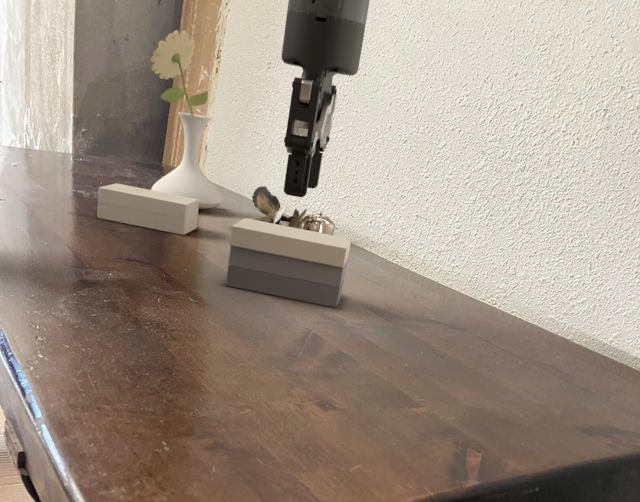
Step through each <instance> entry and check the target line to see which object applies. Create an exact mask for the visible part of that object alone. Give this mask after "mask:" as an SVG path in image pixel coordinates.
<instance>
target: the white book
mask: <svg viewBox="0 0 640 502" xmlns="http://www.w3.org/2000/svg"><path fill="white" fill-rule="evenodd" d="M288 226H289V225H283V224H281V225H278V224H273V223H268V222H263V221H258V220H253V219H250V218H247V217H244V218H243V219H241V220H240V221H237V222H236V223H234V224H233V225H231V229H230V230H231V231H230V238H229V246H230V247H231V246H236V247H241V248H246V249H251V250H256V251H261V252H266V253H271V254H276V255H281V256H286V257H292V258H297V259H302V260H307V261H312V262H317V263H322V264H327V265H332V266H337V267H342V268H343V267H344V265H345V263H346V261H347V262H348V260H349V256H350V250H351V246H352V238H348V237H343V236H338V235H334V234H333V235H329V234H324V233H319V232H314V231H308V230H303V229H298V228H293V227H288ZM347 259H348V260H347Z"/></svg>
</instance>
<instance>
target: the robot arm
mask: <svg viewBox="0 0 640 502" xmlns="http://www.w3.org/2000/svg"><path fill="white" fill-rule="evenodd" d="M370 1H371V0H288V3H287V11H286V18H285V26H284V33H283V34H284V35H283V40H282V49H281V60H282V62H283V63H284V64H285V65H289V66H294V67H297V68H298V67H299V68H301V69H302V73H301V77H294V79H293V80H292V82H291V87H292V91H291V98H290V102H289V103H290V104H289V112H288V118H287V125H286V131H285V136H284V139H283V143H284V147H285V148H286V153H287V154H288V156H287V157H288V158H287V163H286V171H285V178H284V185H283V193H284V194H285V195H286V196H291V197H296V198H303V197H305V196H306V195H307V193H308V189H315V188H317V187H318V186H319V180H320V174H321V168H322V162H323V153H325V151H326V150H327V146H328V144H329V142H330V139H331V138H330V134H331V131H332V128H333V119H334V113H335V110H336V106H337V99H338V95H337V93H338V90H337V85H334V84H333V77H334V76H335V75H343V76H355V75H356V74H357V73H358V71H359V66H360V62H361V61H360V60H361V54H362V50H363V43H364V37H365V30H366V24H367V20H368V19H367V18H368V14H369V6H370Z"/></svg>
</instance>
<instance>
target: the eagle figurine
mask: <svg viewBox="0 0 640 502" xmlns="http://www.w3.org/2000/svg"><path fill="white" fill-rule="evenodd" d="M251 199H252V203H253V206H254V207H255V208H256V209H257V210H258V211H259V212H260V213H261V214H264V215H265V216H255V217H250V218H249V219H253V220H258V221H263V222H268V223H273V224H278V225H282V224H281V223H280V222H286V223H288V225H287V226H288V227H293V228H295V226H296V224H297V223H298V222H299V221H300V220H301V218H302V217H303V218H304V217H305V216H306V212H307V210H308V209H307V208H305V209H304V210H303V211H302V212H301V213H300V212H299V210H298V209H297V208H295V209H294V210H293V214H292V215H291V216H289V217H287V216H285V215H284V214H285V213H286V211H287V209H288V207H287V205H284V206H283V207H282V208H281V203H280V201H279V198H278V197H277V195H274V194H272V193H271V191H270V190H269V189H268V187H267V186H266V185H262V186H259V187H256V189H255V190H254V192H253V195H252V196H251Z"/></svg>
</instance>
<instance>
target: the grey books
mask: <svg viewBox="0 0 640 502" xmlns="http://www.w3.org/2000/svg"><path fill="white" fill-rule="evenodd" d="M348 260H349V258H348V259H347V261H346V263H345V265H344V267H343V268H342V267H337V266H332V265H327V264H322V263H317V262H312V261H307V260H302V259H297V258H292V257H286V256H281V255H276V254H271V253H266V252H261V251H256V250H251V249H246V248H241V247H236V246H231V245H230V248H229V255H228V265H227V273H226V281H225V286H226V287H231V288H237V289H242V290H246V291H250V292H251V291H252V292H257V293H262V294H265V295H271V296H276V297H281V298H285V299H286V298H287V299H291V300H297V301H300V302H306V303H311V304H316V305H320V306H324V307H325V306H326V307H331V308H335V309H336V308H337V306H338V304H339V302H340V300H341V298H342V292H343V288H344V287H343V286H344V280H345V276H346V270H347V265H348Z"/></svg>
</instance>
